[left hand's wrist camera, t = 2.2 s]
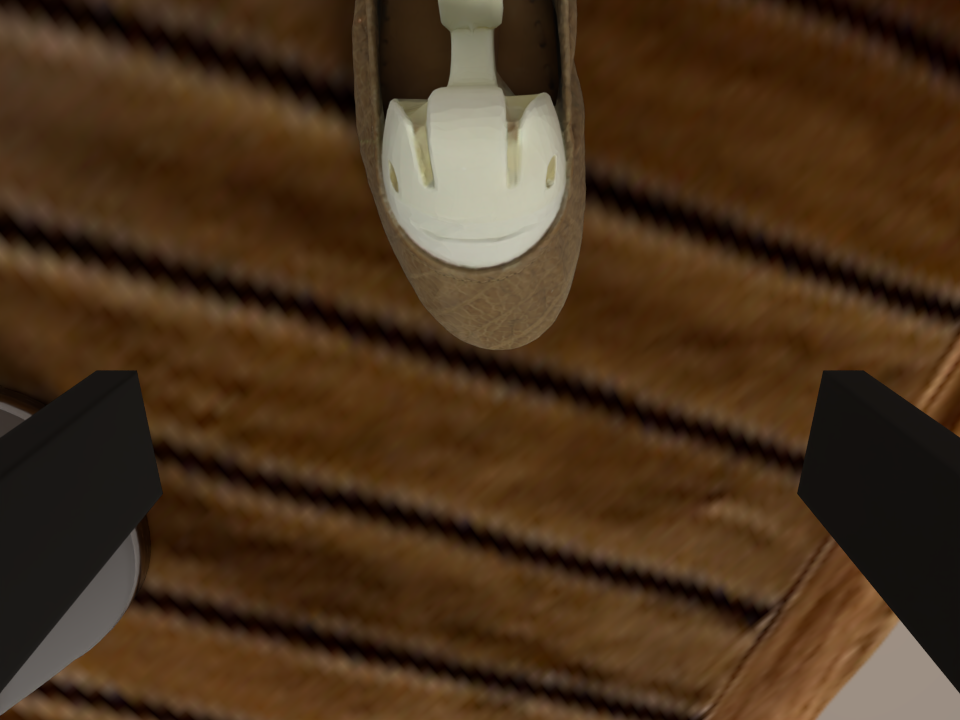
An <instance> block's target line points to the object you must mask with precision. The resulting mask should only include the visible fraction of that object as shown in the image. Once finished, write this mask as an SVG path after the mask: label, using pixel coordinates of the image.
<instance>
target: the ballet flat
mask: <svg viewBox="0 0 960 720" xmlns="http://www.w3.org/2000/svg"><path fill="white" fill-rule="evenodd" d="M576 32H577V5H576V0H355V12H354V20H353V26H352V42H353V69H354V97H355V105H356V126H357V134H358V138H359V142H360V153H361V156H362V159H363V162H364V165H365V169H366V174H367V179H368V183H369V186H370V189H371V191H372V194H373V197H374V200H375V203H376V206H377V209H378V213H379V216H380V219H381V222H382V225H383V228H384V230H385V232H386V235H387V237H388V240H389V242H390V244H391V246H392V248H393V251H394V253H395V255H396V257H397V259H398V261H399V263H400V265H401V267H402V269H403V271H404V273H405V275H406V277H407V278H408V280H409V282H410V283H411V285H412V287H413V288H414V290H415V292H416V294H417V296H418V298H419V299H420V301H421V303H422V304H423V305H424V307H425V308H426V309H427V310H428V311H429V312H430V313H431V315H432V316H433V317H434V318H435V319H436V320H437V321H438V322H439V323H440V324H441V325H442V326H443V327H444V328H445V329H446V330H448V331H449V332H450V333H451V334H453V335H454V336H455V337H457V338H459V339H460V340H462V341H464V342H467V343H469V344H472V345H474V346H477V347H480V348H485V349H492V350H506V349H514V348H518V347H521V346H523V345H526V344H528V343H530V342H532V341H533V340H535V339H537V338H538V337H540V336H541V335H542V334H543V333H544V332H545V331H546V330H547V329H548V328H549V327H550V326H551V325H552V324H553V323H554V322H555V320H556V318H557V316H558V314H559V313H560V311H561V309H562V307H563V305H564V303H565V301H566V299H567V296H568V293H569V291H570V287H571V284H572V281H573V277H574V273H575V269H576V265H577V261H578V257H579V252H580V246H581V240H582V233H583V221H584V210H585V197H586V184H585V141H584V120H585V113H584V103H583V97H582V91H581V87H580V83H579V79H578V76H577V72H576V68H575V63H574V52H575V44H576Z"/></svg>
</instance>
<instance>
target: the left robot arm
mask: <svg viewBox="0 0 960 720" xmlns="http://www.w3.org/2000/svg"><path fill="white" fill-rule="evenodd" d="M162 494H163V492H162V488H161V483H160V478H159V473H158V469H157V464H156V459H155V455H154V450H153V445H152V440H151V436H150V431H149V426H148V422H147V417H146V412H145V407H144V403H143V398H142V393H141V388H140V384H139V379H138V374H137V371H95V372H94V373H92V374H91V375H90V376H88V377H87V378H85V379H84V380H82V381H81V382H79V383H78V384H77V385H75V386H74V387H72V388H71V389H69V390H68V391H67V392H65V393H64V394H62V395H61V396H59V397H58V398H56V399H55V400H54V401H52V402H51V403H49V404H48V405H45V404H43V403H41V402H39V401H37V400H34V399H32V398H30V397H28V396H25V395H23V394H20V393H17V392H14V391H12V390H9V389H6V388H2V387H0V715H1V714H3V713H4V712H5V711H7V710H8V709H10V708H11V707H12V706H14V705H15V704H17V703H18V702H19V701H21V700H22V699H23V698H25V697H26V696H28V695H29V694H30V693H32V692H33V691H34V690H36V689H37V688H38V687H40V686H41V685H42V684H44V683H45V682H46V681H48V680H49V679H50V678H52V677H53V676H54V675H56V674H57V673H58V672H60V671H61V670H62V669H64V668H65V667H66V666H67V665H69V664H70V663H71V662H73V661H74V660H75V659H77V658H79V657H80V656H82V655H83V654H85V653H86V652H87V651H89V650H90V649H91V648H93V647H94V646H95V645H96V644H97V643H98V642H99V641H100V640H101V639H102V638H103V637H104V636H105V635H106V634H107V633H108V632H109V631H110V630H112V629H113V627H114V626H115V625H116V624H117V623H118V621H119V620H120V619H121V618H122V616H123V615H124V613H125V612H126V610H127V609H128V607H129V606H130V605H131V603H132V602H133V600H134V599H135V597H136V596H137V594H138V592H139V591H140V589H141V587H142V584H143V582H144V580H145V577H146V574H147V571H148V567H149V560H150V547H151V543H150V532H149V527H148V522H147V518H146V514H147V512H148V511H149V510H150V509H151V507H152V506H153V505H154V504H155V503H156V501H157V500H158V499H159V498H160V496H161V495H162ZM797 494H798V495H799V496H800V498H801V499H802V500H803V501H804V503H805V504H806V505H807V506H808V507H809V509H810V510H811V511H812V512H813V514H814V515H815V516H816V517H817V519H818V520H819V521H820V522H821V523H822V525H823V526H824V527H825V528H826V530H827V531H828V532H829V533H830V535H831V536H832V537H833V538H834V539H835V541H836V542H837V543H838V544H839V546H840V547H841V548H842V549H843V550H844V552H845V553H846V554H847V555H848V557H849V558H850V559H851V560H852V562H853V563H854V564H855V565H856V566H857V568H858V569H859V570H860V571H861V573H862V574H863V575H864V576H865V578H866V579H867V580H868V581H869V582H870V584H871V585H872V586H873V587H874V589H875V590H876V591H877V592H878V593H879V595H880V596H881V597H882V598H883V600H884V601H885V602H886V603H887V605H888V606H889V607H890V608H891V609H892V611H893V612H894V613H895V614H896V616H897V617H898V618H899V619H900V621H901V622H902V623H903V624H904V625H905V627H906V628H907V629H908V630H909V632H910V633H911V634H912V635H913V636H914V638H915V639H916V640H917V641H918V643H919V644H920V645H921V646H922V648H923V649H924V650H925V651H926V652H927V654H928V655H929V656H930V657H931V659H932V660H933V661H934V662H935V664H936V665H937V666H938V667H939V668H940V670H941V671H942V672H943V673H944V675H945V676H946V677H947V678H948V679H949V681H950V682H951V683H952V684H953V686H954V687H955V688H956V689H957V691H958V692H959V693H960V437H958V436H957V435H955V434H954V433H952V432H951V431H950V430H948V429H947V428H945V427H944V426H942V425H941V424H940V423H938V422H937V421H935V420H934V419H932V418H931V417H929V416H928V415H927V414H925V413H924V412H922V411H921V410H919V409H918V408H916V407H915V406H914V405H912V404H911V403H909V402H908V401H906V400H905V399H904V398H902V397H901V396H899V395H898V394H896V393H895V392H893V391H892V390H891V389H889V388H888V387H886V386H885V385H883V384H882V383H881V382H879V381H878V380H876V379H875V378H873V377H872V376H870V375H869V374H868V373H866V372H865V371H823V374H822V379H821V384H820V388H819V393H818V398H817V403H816V407H815V412H814V417H813V422H812V426H811V431H810V436H809V440H808V445H807V450H806V455H805V459H804V464H803V469H802V473H801V478H800V483H799V488H798V492H797Z"/></svg>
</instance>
